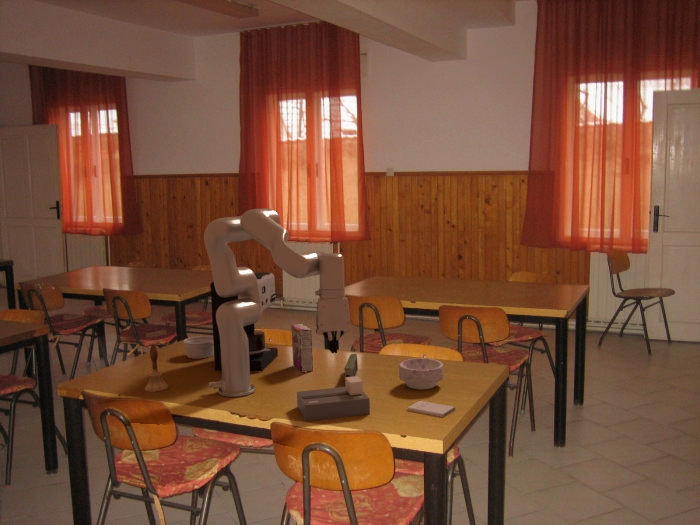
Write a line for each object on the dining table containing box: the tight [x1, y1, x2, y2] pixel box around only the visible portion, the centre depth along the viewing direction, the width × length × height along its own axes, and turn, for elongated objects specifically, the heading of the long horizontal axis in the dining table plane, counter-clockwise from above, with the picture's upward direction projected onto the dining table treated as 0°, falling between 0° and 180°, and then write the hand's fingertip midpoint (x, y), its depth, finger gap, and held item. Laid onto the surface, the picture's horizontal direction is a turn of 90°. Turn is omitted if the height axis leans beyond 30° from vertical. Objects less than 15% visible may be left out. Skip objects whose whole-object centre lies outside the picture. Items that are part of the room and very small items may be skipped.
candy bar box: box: [290, 323, 314, 373], centre depth 264 cm, size 11×5×16 cm, turn 22°
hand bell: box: [144, 343, 169, 393], centre depth 244 cm, size 8×8×16 cm
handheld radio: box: [344, 353, 359, 387], centre depth 248 cm, size 7×3×25 cm
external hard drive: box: [406, 400, 456, 418], centre depth 213 cm, size 2×8×12 cm
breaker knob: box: [344, 375, 364, 395], centre depth 216 cm, size 4×6×4 cm, turn 14°
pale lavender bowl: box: [398, 357, 444, 391], centre depth 238 cm, size 15×15×8 cm
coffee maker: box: [209, 272, 279, 372], centre depth 271 cm, size 28×20×35 cm
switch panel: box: [296, 386, 371, 422], centre depth 215 cm, size 20×14×5 cm
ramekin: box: [183, 335, 214, 360], centre depth 289 cm, size 13×13×7 cm
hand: (333, 352), depth 214 cm, fingers closed
